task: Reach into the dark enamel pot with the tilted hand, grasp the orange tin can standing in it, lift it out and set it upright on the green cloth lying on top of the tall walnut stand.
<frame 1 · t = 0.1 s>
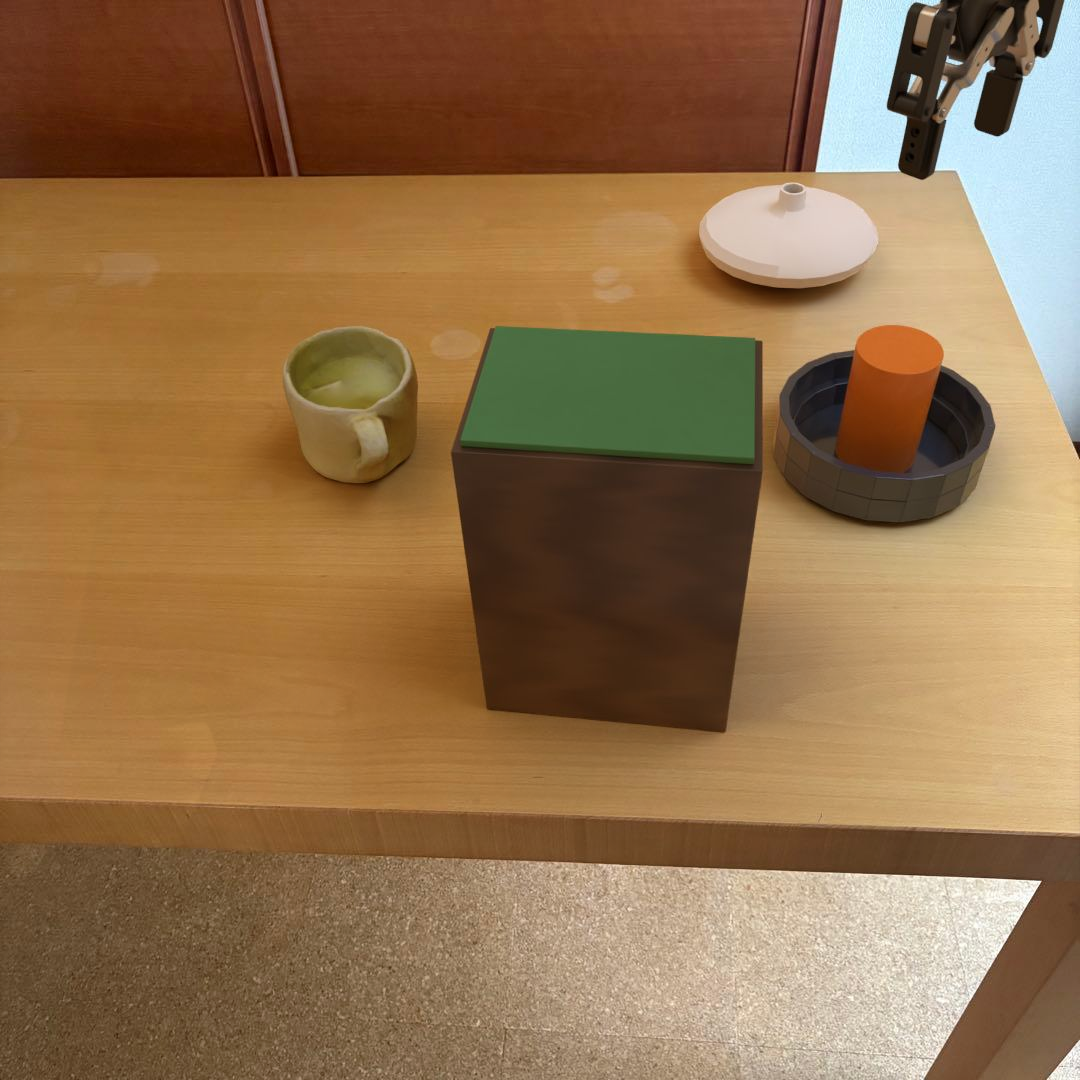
hand: (953, 152, 68), 19 cm above the table, tool pointing down, fingers open, 8 cm apart
mug: (367, 464, 78), on the table
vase: (783, 263, 95), on the table
orange can: (874, 452, 75), point 1 cm above the table, touching pot
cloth: (614, 393, 50), resting on stand
pot: (873, 458, 76), on the table
stand: (612, 653, 64), on the table
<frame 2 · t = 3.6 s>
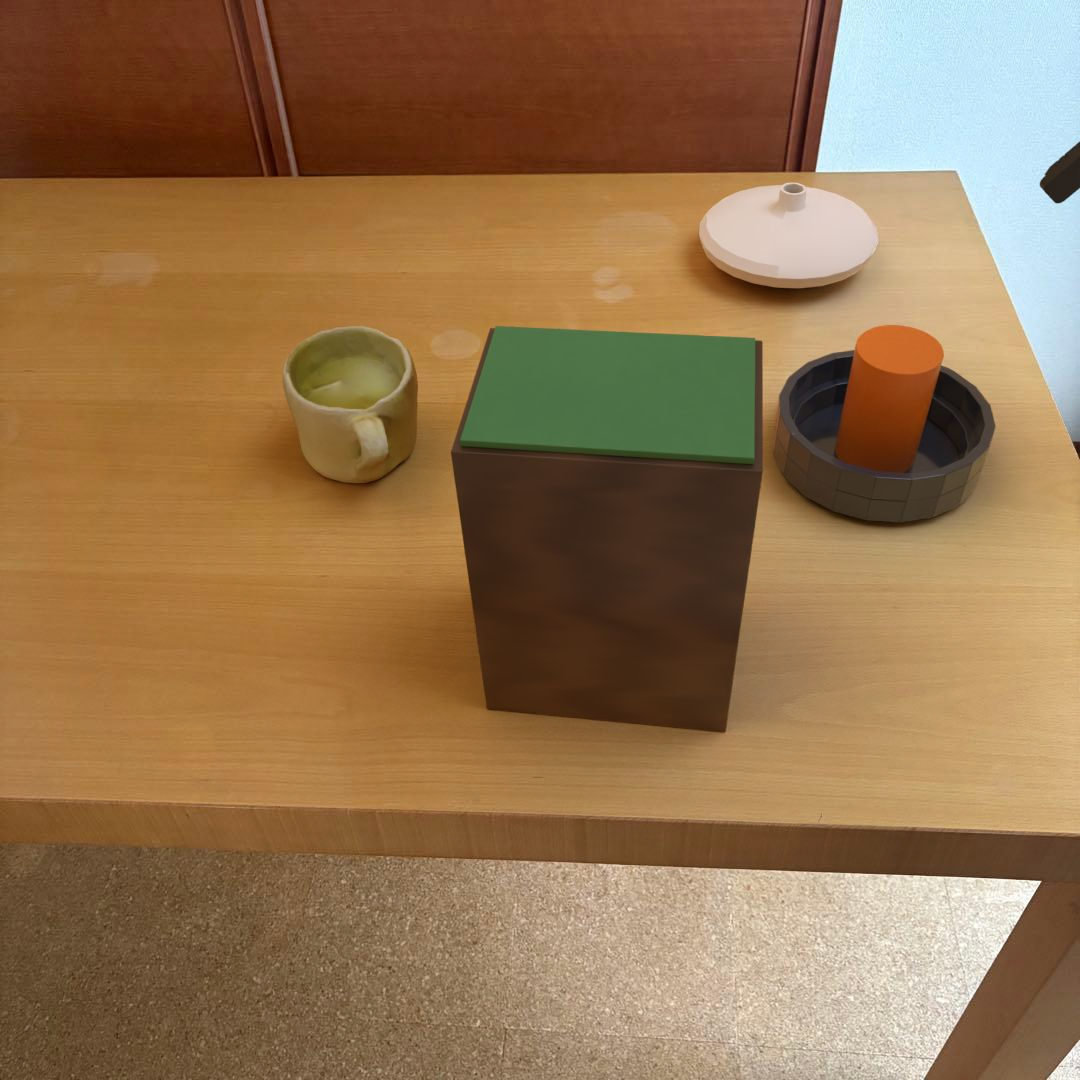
nothing on the table moved.
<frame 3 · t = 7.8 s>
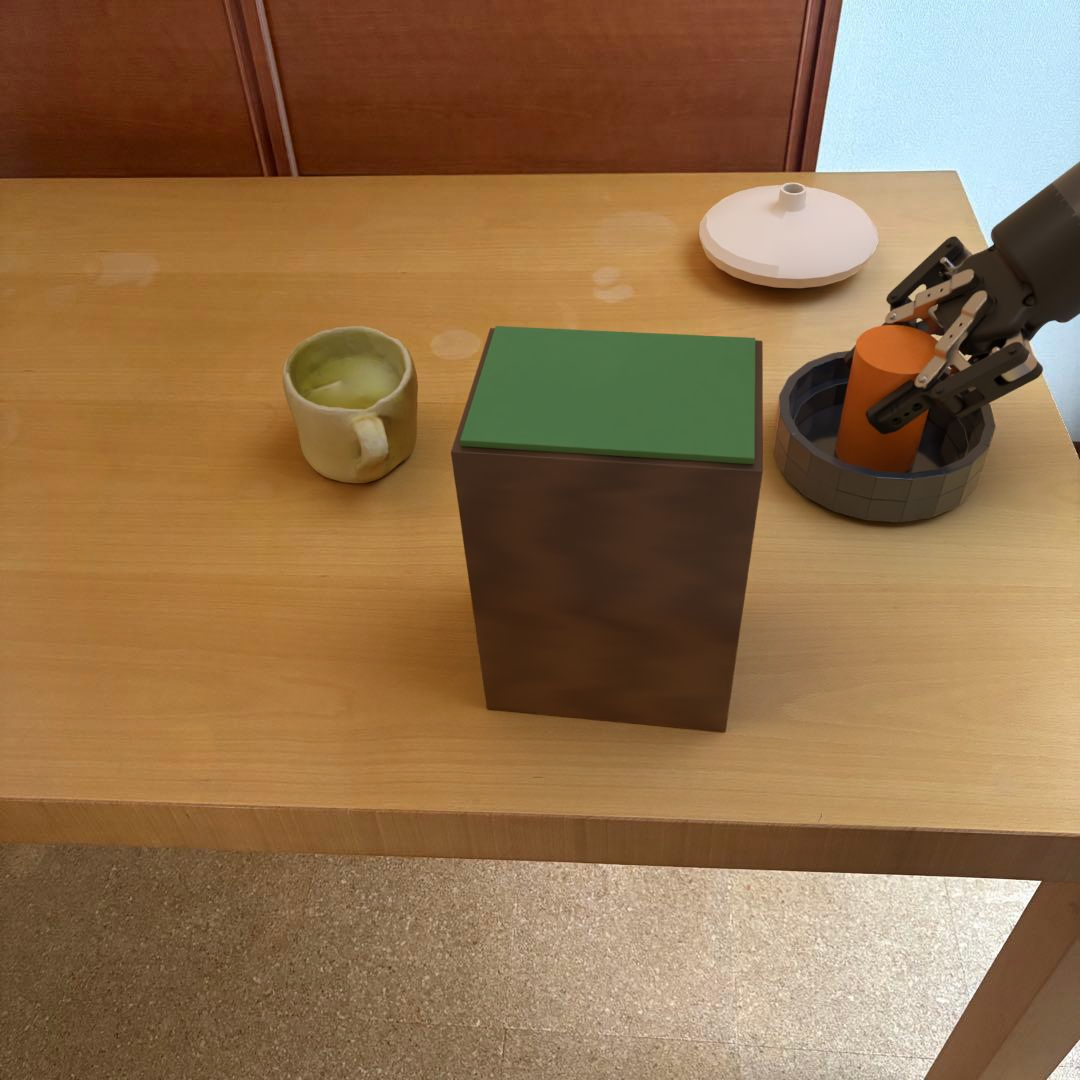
hand: (863, 395, 71), 6 cm above the table, tool tilted 45°, fingers closed on orange can, 5 cm apart
orange can: (874, 452, 75), point 1 cm above the table, touching gripper, pot
everything else where it was.
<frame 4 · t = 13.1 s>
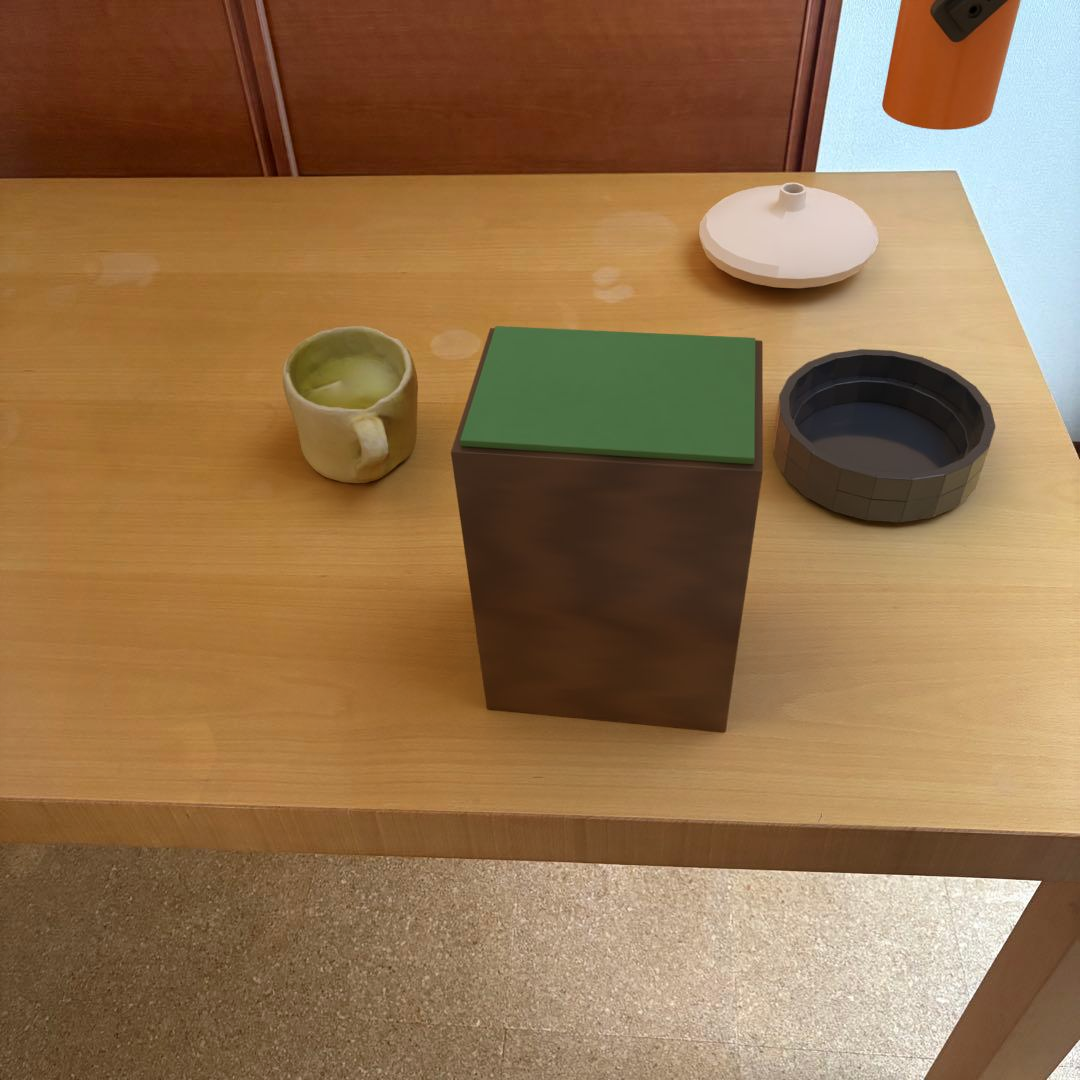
hand: (924, 4, 52), 32 cm above the table, tool tilted 45°, fingers closed on orange can, 5 cm apart
orange can: (936, 107, 56), point 26 cm above the table, touching gripper
everything else where it was.
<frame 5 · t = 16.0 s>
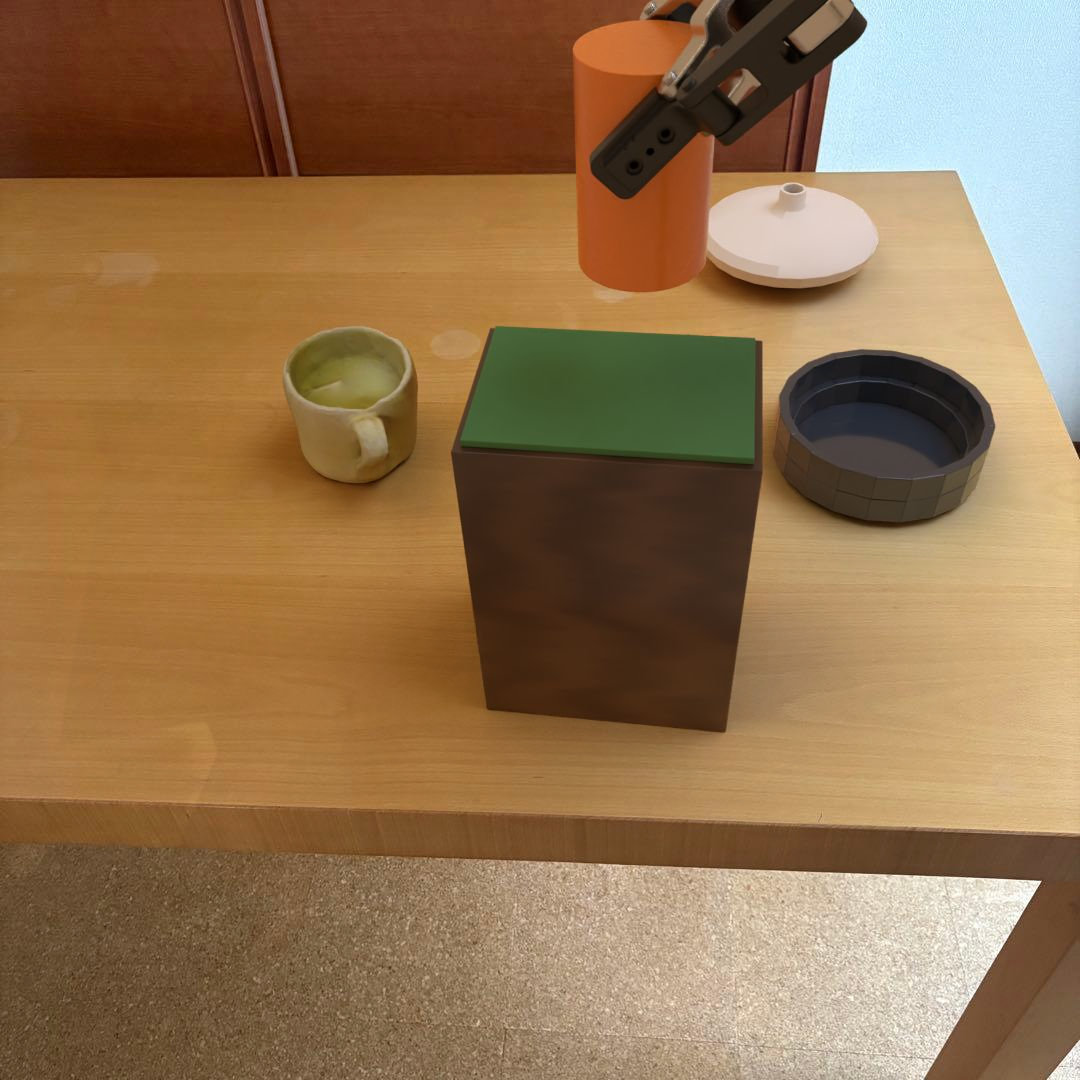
hand: (601, 145, 42), 32 cm above the table, tool tilted 45°, fingers closed on orange can, 5 cm apart
orange can: (641, 258, 46), point 27 cm above the table, touching gripper
everything else where it was.
when the fingers open (26 cm above the table, at t = 18.4 s): orange can stays where it is, resting on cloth.
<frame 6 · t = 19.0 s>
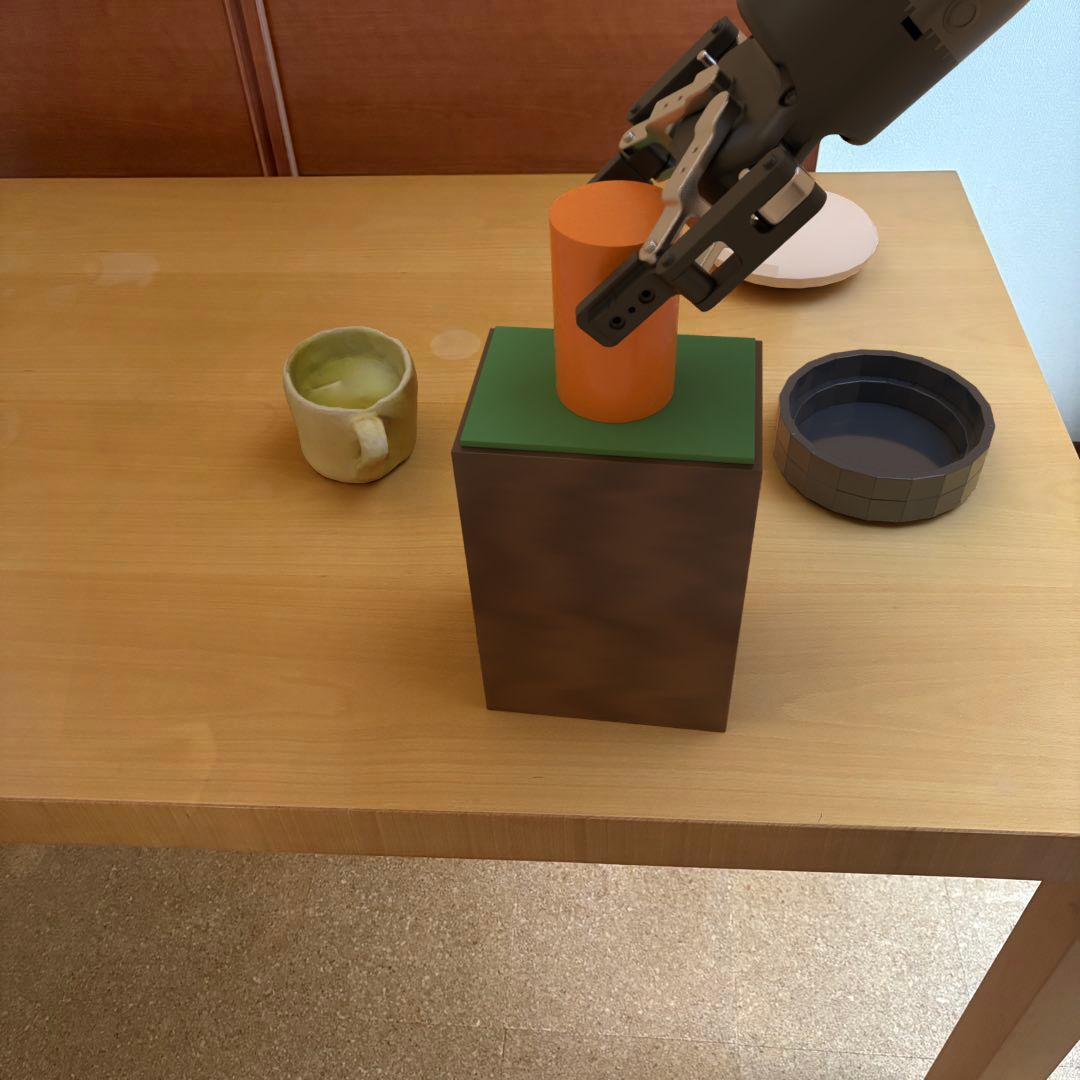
hand: (584, 276, 45), 26 cm above the table, tool tilted 45°, fingers open, 8 cm apart
orange can: (615, 386, 50), point 20 cm above the table, touching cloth
everything else where it was.
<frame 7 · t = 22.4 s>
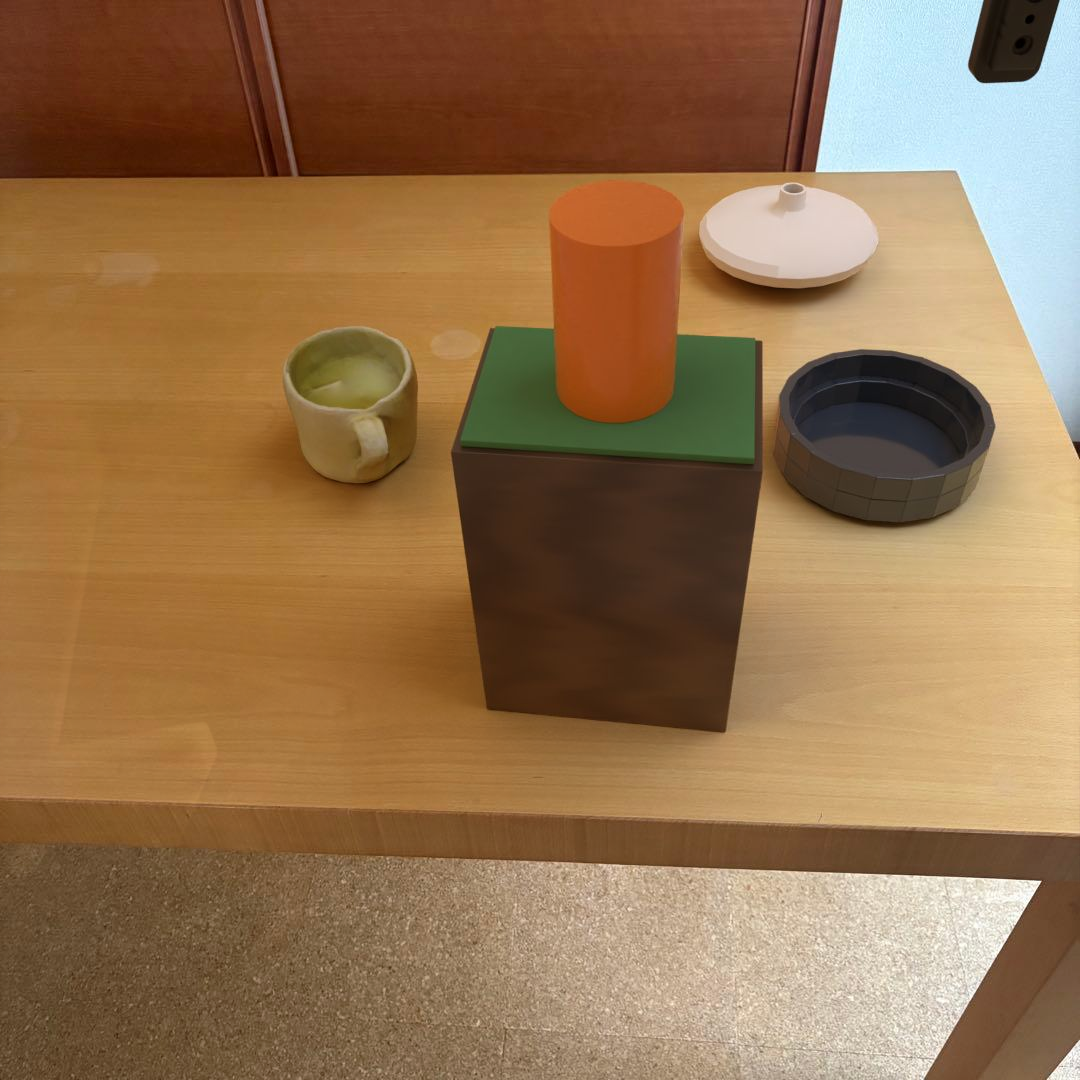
hand: (963, 33, 39), 36 cm above the table, tool pointing down, fingers open, 8 cm apart
nothing on the table moved.
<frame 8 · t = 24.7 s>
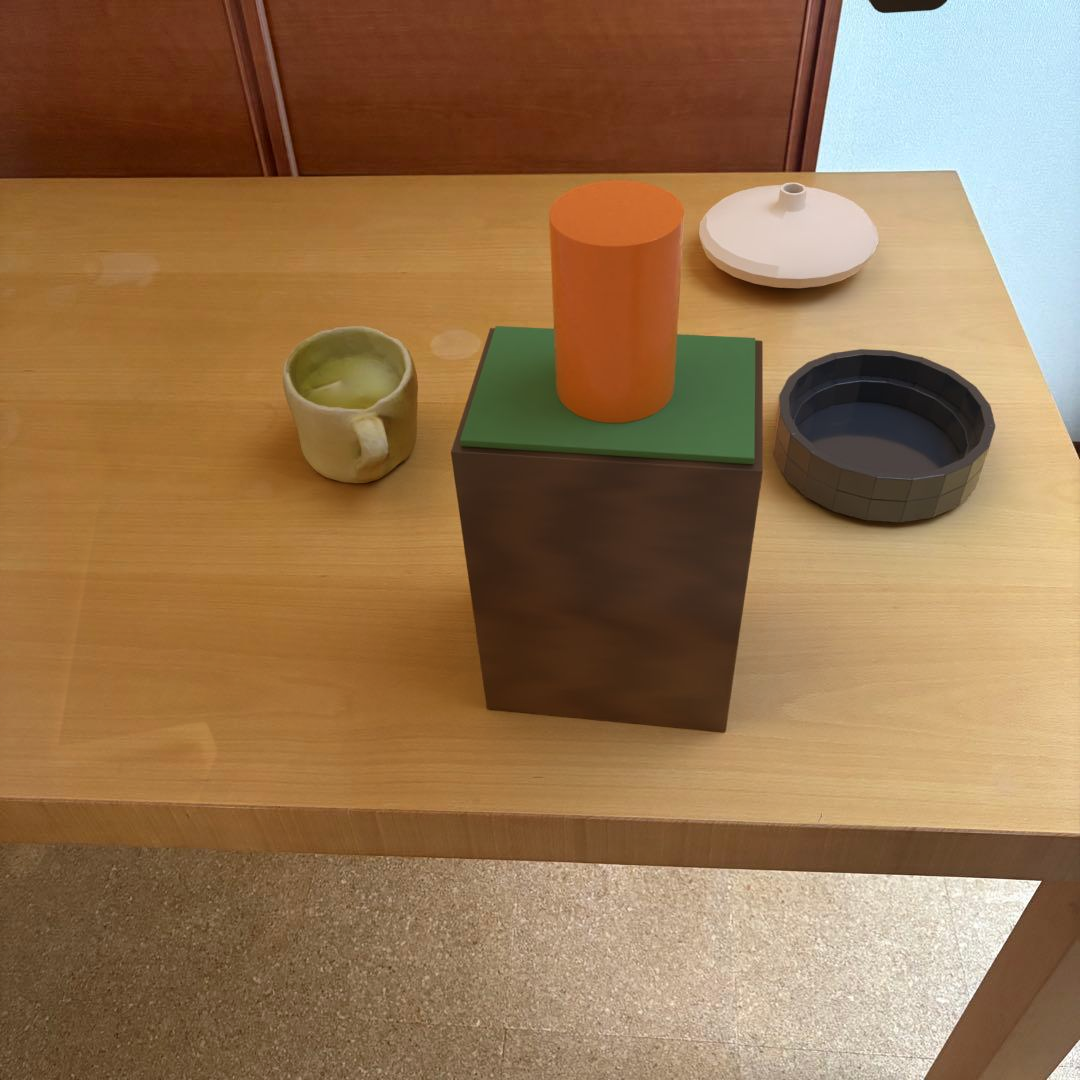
nothing on the table moved.
at the end: orange can inside the target area on the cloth (0.0 cm from its centre), point 0.4 cm above the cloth's base; orange can tilted 0°; the gripper is holding nothing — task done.
